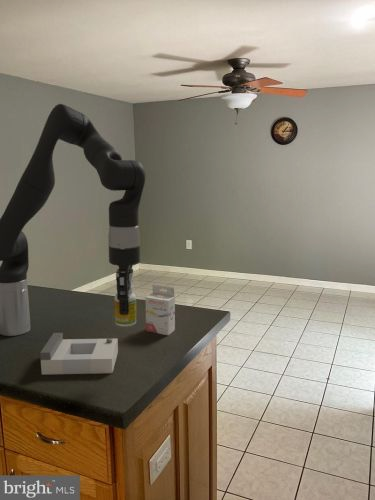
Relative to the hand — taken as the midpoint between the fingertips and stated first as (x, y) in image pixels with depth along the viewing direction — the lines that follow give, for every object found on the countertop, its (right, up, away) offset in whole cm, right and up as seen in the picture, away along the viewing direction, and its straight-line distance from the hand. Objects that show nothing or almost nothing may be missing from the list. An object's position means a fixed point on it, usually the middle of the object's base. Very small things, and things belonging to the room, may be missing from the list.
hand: (125, 309), depth 106 cm
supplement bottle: (0, -4, +1) cm, 4 cm away
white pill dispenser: (-13, -16, +9) cm, 22 cm away
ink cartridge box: (+7, -12, +31) cm, 34 cm away
